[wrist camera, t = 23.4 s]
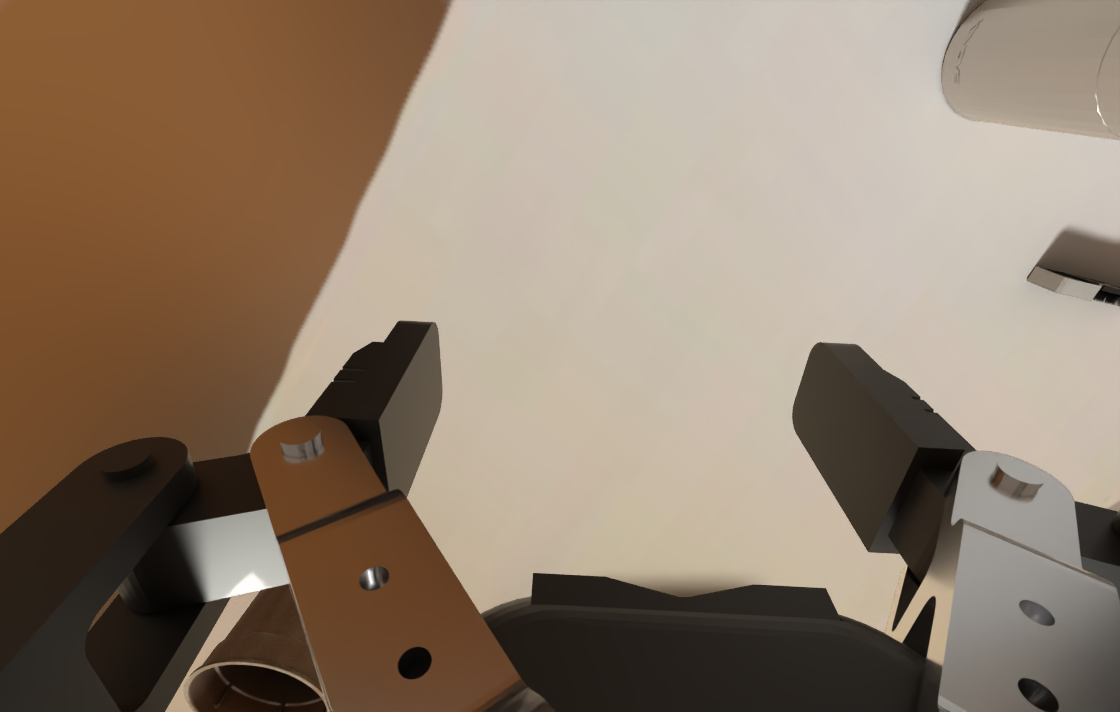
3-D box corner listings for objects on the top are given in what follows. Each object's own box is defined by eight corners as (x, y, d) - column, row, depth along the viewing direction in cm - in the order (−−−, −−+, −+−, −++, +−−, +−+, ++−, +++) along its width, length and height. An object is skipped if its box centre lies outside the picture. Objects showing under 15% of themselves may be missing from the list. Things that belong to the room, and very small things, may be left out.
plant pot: (292, 524, 68) (218, 644, 54) (399, 580, 72) (357, 705, 58) (239, 586, 74) (160, 709, 60) (341, 634, 79) (290, 758, 65)
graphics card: (1139, 289, 51) (1202, 296, 46) (1126, 315, 51) (1187, 325, 46) (1030, 263, 49) (1083, 267, 45) (1019, 290, 50) (1070, 297, 45)
